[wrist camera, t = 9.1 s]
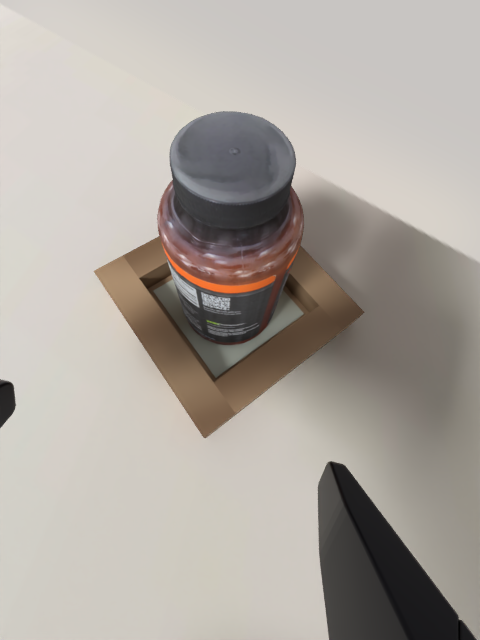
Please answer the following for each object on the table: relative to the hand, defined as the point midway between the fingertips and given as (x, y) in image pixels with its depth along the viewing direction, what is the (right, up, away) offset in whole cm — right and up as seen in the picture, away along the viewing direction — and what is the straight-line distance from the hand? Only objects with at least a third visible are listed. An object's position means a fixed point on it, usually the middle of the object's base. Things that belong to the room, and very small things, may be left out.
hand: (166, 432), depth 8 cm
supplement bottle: (+1, +4, +12) cm, 12 cm away
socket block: (+1, +4, +12) cm, 13 cm away
